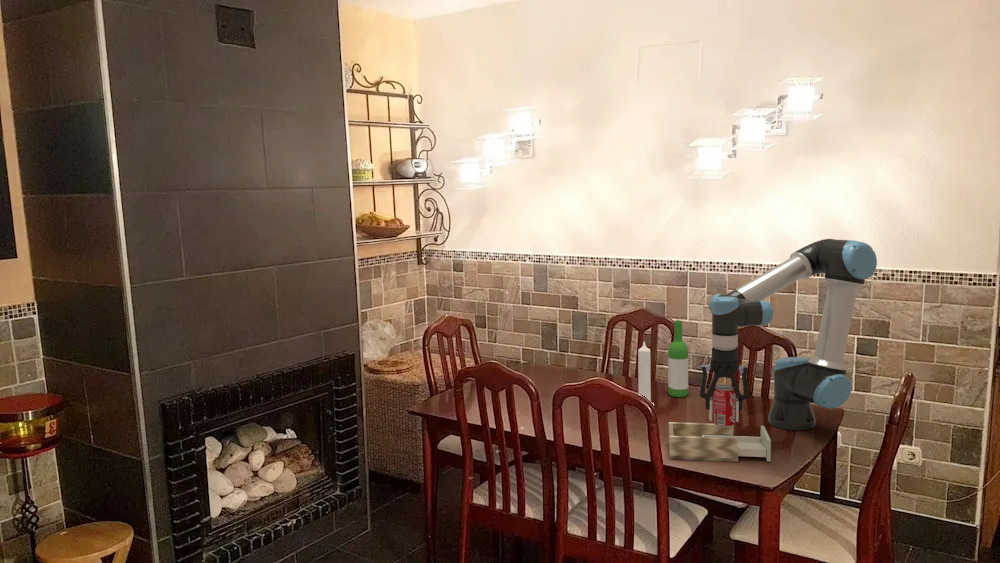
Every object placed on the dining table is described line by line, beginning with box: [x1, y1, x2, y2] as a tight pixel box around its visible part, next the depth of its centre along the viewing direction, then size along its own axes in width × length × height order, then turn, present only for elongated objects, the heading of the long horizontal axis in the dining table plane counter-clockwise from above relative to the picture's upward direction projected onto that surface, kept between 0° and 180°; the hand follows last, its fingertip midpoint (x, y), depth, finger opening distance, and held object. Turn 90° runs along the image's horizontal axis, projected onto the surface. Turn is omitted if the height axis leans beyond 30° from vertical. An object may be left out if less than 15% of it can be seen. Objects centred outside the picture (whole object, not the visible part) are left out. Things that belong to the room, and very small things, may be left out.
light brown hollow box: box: [668, 421, 739, 463], centre depth 223 cm, size 20×14×7 cm
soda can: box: [711, 384, 737, 427], centre depth 220 cm, size 7×7×12 cm
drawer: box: [702, 425, 772, 463], centre depth 220 cm, size 19×13×7 cm
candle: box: [637, 341, 655, 407], centre depth 269 cm, size 7×7×25 cm
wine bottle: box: [667, 319, 689, 398], centre depth 281 cm, size 8×8×30 cm
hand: (723, 419), depth 220 cm, fingers closed on soda can, 7 cm apart
